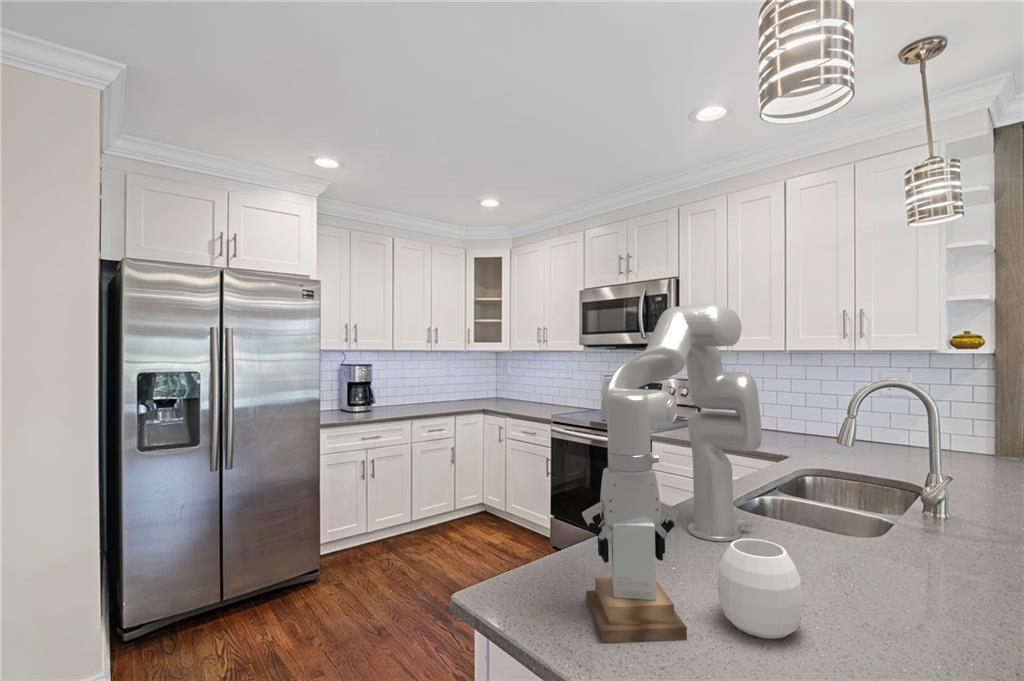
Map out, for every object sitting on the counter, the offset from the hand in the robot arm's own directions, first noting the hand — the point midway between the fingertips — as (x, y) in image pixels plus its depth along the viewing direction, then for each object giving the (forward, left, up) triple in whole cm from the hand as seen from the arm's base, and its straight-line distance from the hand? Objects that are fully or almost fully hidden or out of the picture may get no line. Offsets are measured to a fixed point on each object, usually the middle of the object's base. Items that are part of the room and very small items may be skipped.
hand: (631, 558), depth 90 cm
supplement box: (0, 0, -6) cm, 6 cm away
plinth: (0, 0, -11) cm, 11 cm away
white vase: (-21, +4, -11) cm, 24 cm away
